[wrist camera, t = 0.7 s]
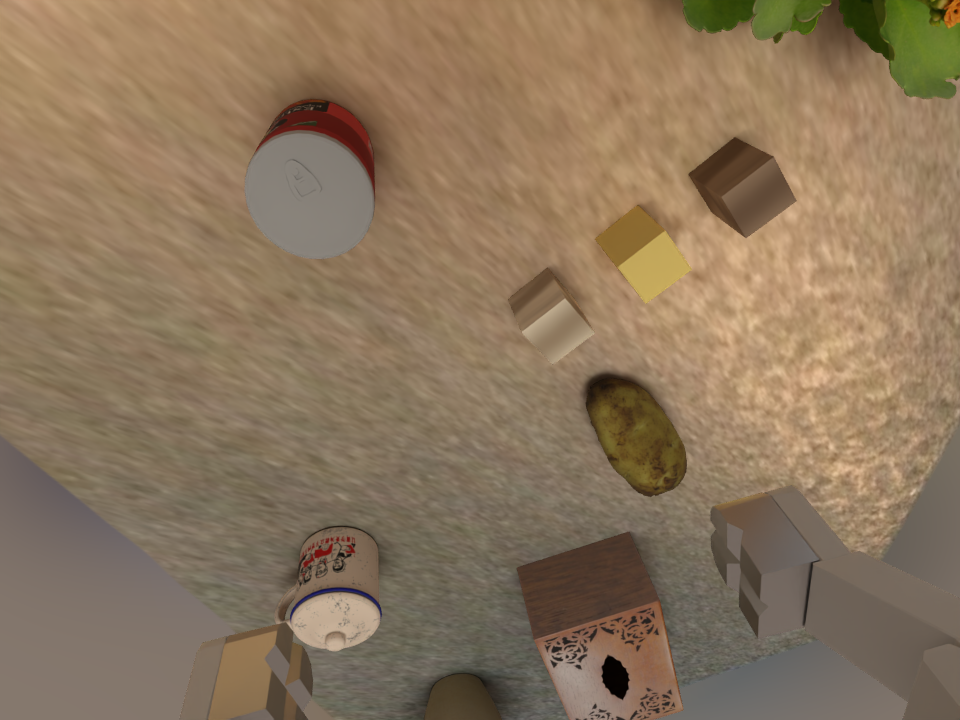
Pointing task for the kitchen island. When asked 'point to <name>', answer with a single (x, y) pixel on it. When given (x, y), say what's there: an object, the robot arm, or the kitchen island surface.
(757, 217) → the walnut block
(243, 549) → the kitchen island surface
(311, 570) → the teacup with lid
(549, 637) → the tissue box cover
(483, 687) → the plant pot
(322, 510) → the kitchen island surface
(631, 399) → the potato
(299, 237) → the canned food
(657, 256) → the mustard block
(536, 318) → the birch block
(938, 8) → the potted flower
